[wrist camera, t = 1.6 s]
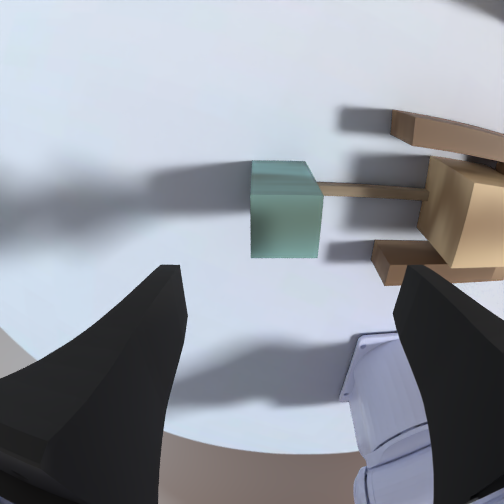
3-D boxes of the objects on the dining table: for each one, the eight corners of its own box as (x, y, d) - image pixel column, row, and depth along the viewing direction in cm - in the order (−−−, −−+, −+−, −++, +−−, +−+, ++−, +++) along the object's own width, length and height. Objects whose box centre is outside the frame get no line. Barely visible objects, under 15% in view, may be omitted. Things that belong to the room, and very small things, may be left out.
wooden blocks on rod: (470, 229, 20) (512, 271, 15) (252, 224, 20) (251, 276, 15) (486, 165, 17) (536, 196, 12) (252, 143, 17) (250, 171, 12)
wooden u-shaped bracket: (484, 258, 21) (503, 280, 18) (370, 259, 21) (384, 285, 18) (514, 137, 16) (541, 149, 13) (392, 109, 16) (415, 117, 13)
